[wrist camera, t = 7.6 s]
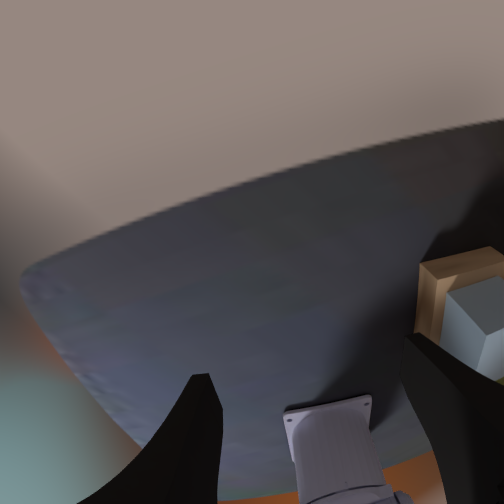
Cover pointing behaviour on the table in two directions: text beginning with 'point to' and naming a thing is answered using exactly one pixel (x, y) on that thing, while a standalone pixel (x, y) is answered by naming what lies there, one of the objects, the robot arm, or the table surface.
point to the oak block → (451, 284)
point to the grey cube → (476, 326)
